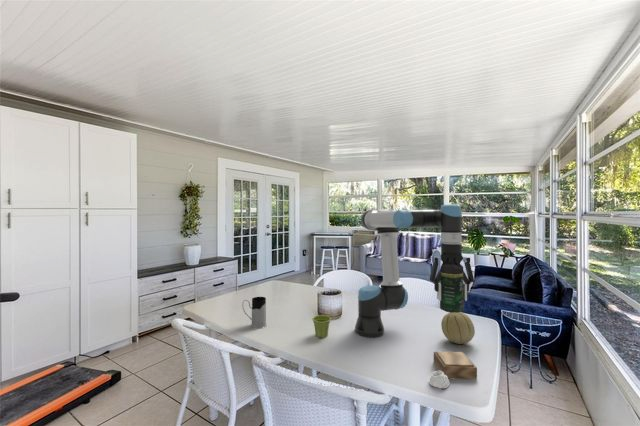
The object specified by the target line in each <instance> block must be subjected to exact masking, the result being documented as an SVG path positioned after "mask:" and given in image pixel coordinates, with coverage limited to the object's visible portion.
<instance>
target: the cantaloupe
mask: <svg viewBox="0 0 640 426" xmlns="http://www.w3.org/2000/svg"><path fill="white" fill-rule="evenodd" d="M440 325H441V326H440V327H441V330H442V333H443V335H444V337H445V338H446V339H447V340H448V341H449V342H452V343H455V344H458V345H462V344H466V343H469V342H471V341H472V340H473V339H474V337H475V332H476V331H475V325H474V323H473V321H472V319H471V318H470V316H468V315H467V313H465V312H463V311H461V312H459V313H455V312H451V313H450V312H447V313H446V314H445V315H444V316H443V317H442V319H441V324H440Z"/></svg>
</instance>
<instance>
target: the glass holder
mask: <svg viewBox="0 0 640 426" xmlns="http://www.w3.org/2000/svg"><path fill="white" fill-rule="evenodd" d="M266 301H267V298H266V297H265V296H255V297H252V298H251V303H250V300H248V299H244V300H243V301H242V304H241V306H242V310H243V312H244V314H245V315H246V316H247V317H248V318H249V319H250V320H251V325H250V327H251V328H252V329H255V328H260V329H264V328H266V327H267V325H268V324H267V303H266ZM244 302H248V307H249V309H251V316H250V315H248V313H247V312H246V310H245V307H244ZM263 327H264V328H263Z"/></svg>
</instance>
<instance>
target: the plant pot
mask: <svg viewBox="0 0 640 426" xmlns="http://www.w3.org/2000/svg"><path fill="white" fill-rule="evenodd" d="M331 320H332V318H331V317H330V316H328V315H322V314H321V315H316V316H315V315H314V317H312V321H313V326H314V331H315V332H314V333H315V337H316V338H323V339H324V338H326V337H328V334H329V327H330V322H331Z"/></svg>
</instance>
